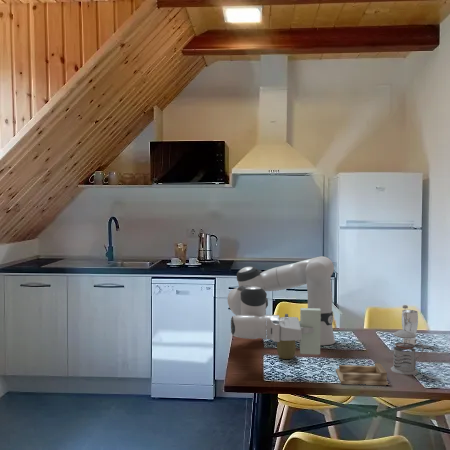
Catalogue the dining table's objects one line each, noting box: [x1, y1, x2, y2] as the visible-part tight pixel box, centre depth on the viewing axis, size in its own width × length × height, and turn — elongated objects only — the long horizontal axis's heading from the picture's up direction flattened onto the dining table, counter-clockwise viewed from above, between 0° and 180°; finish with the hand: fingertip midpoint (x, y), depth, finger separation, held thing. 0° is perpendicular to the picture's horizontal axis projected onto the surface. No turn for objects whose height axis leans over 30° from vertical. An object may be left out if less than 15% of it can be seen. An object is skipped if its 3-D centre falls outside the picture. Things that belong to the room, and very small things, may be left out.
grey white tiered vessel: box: [390, 304, 425, 376], centre depth 181 cm, size 10×12×25 cm
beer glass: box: [401, 309, 419, 346], centre depth 217 cm, size 7×7×15 cm
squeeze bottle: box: [276, 313, 297, 360], centre depth 197 cm, size 8×8×18 cm
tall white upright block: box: [299, 307, 321, 356], centre depth 174 cm, size 7×4×16 cm, turn 85°
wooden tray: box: [335, 363, 389, 386], centre depth 173 cm, size 16×13×4 cm
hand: (312, 328), depth 174 cm, fingers closed on tall white upright block, 3 cm apart
